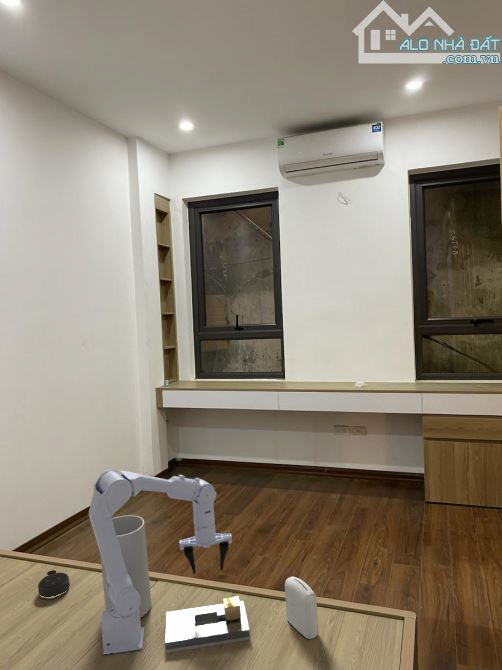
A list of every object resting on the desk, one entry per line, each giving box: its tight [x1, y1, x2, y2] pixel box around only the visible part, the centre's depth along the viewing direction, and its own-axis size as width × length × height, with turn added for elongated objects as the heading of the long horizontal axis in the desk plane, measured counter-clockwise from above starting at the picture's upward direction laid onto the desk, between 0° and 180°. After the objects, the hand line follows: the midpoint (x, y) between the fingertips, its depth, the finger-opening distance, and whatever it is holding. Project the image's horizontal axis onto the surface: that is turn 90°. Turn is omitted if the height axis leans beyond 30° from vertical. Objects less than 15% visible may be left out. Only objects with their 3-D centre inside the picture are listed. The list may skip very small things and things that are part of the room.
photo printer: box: [284, 576, 319, 640], centre depth 127 cm, size 10×4×12 cm, turn 29°
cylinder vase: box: [99, 514, 152, 619], centre depth 138 cm, size 12×12×25 cm
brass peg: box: [222, 596, 241, 621], centre depth 129 cm, size 4×4×6 cm
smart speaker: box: [37, 572, 71, 597], centre depth 150 cm, size 9×9×4 cm
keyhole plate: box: [164, 600, 251, 654], centre depth 128 cm, size 21×12×3 cm, turn 98°
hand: (208, 569), depth 138 cm, fingers open, 7 cm apart
